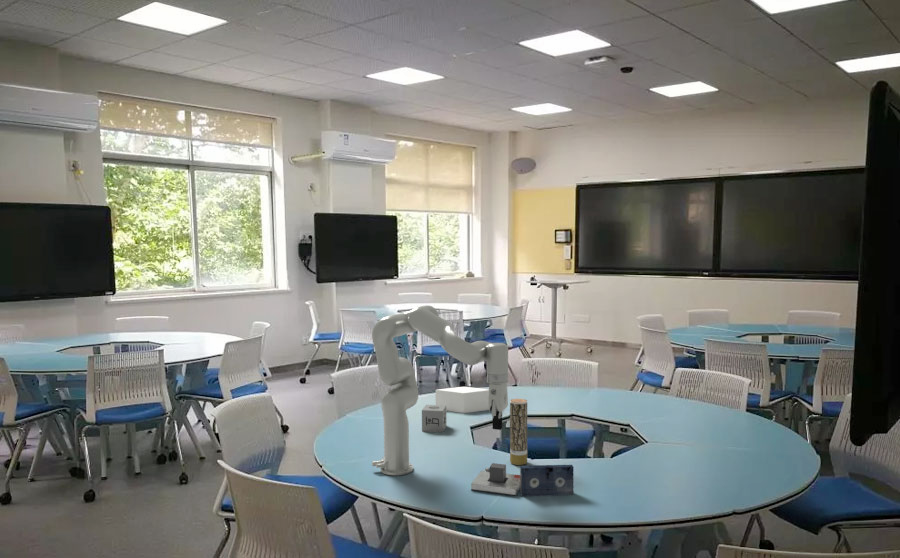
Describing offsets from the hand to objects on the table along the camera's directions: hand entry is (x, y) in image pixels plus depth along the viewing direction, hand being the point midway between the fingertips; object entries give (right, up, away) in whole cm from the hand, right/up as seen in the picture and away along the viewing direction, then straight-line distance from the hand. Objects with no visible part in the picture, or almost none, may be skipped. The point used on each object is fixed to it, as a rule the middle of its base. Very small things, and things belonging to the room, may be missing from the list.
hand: (497, 428), depth 213 cm
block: (-10, -16, +105) cm, 107 cm away
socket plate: (0, -21, +1) cm, 21 cm away
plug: (0, -20, +1) cm, 20 cm away
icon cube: (-24, -18, +71) cm, 77 cm away
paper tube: (+10, -20, +24) cm, 33 cm away
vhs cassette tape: (+17, -22, -6) cm, 28 cm away
